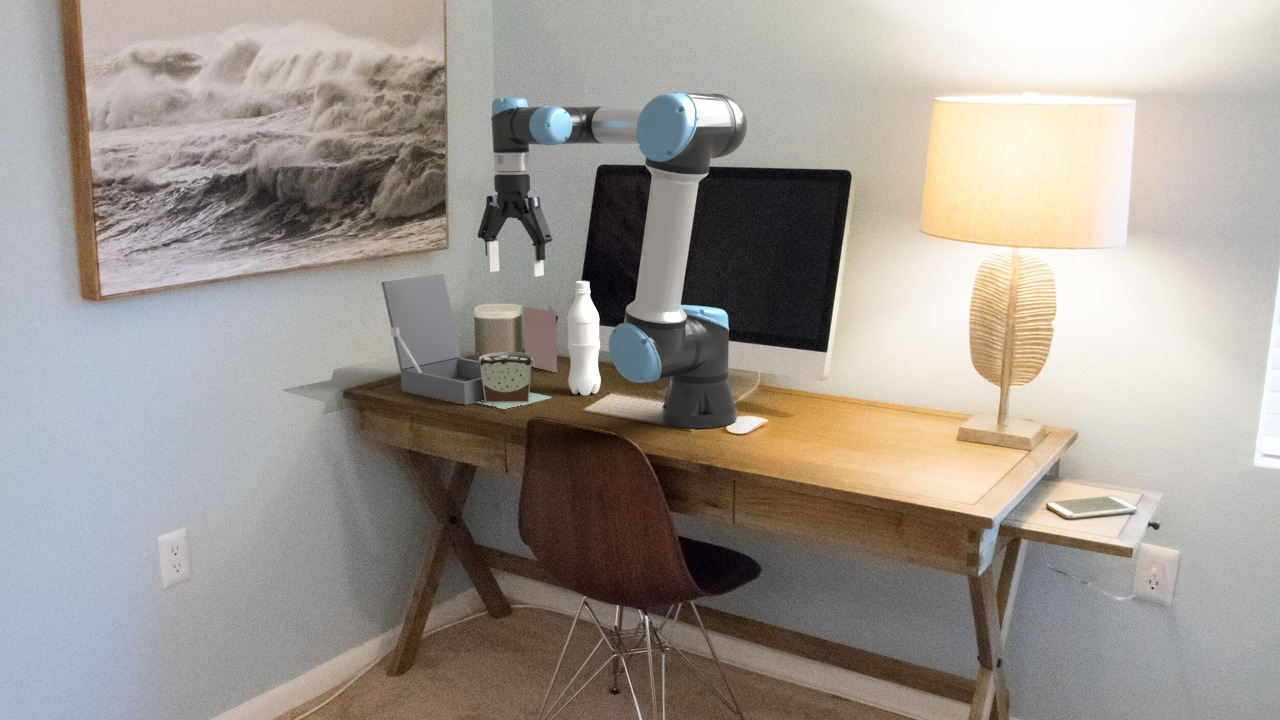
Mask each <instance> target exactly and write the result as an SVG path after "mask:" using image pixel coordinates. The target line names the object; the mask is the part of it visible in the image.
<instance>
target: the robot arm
mask: <svg viewBox="0 0 1280 720" xmlns="http://www.w3.org/2000/svg"><path fill="white" fill-rule="evenodd" d="M491 102H492V103H491V117H490V120H491V131H492V133H491V135H492V155H493V171H494V173H496V174H495V175H494V176H493V180H494V181H493V182H494V183H493V185H494V192H496V193H497V194H494V195H487V196H486V199H485V201H486V202H485V203H486V205H485V209H484V211H483V215H482V217H481V218H482V219H481V222H480V225H479V228H478V232H477V237H478V239H482V240H483V241H484V244H485V249H484V250H485V256H487V257H486V258H487V259H486V261H487V272H488V273H494V272H500V256H499V255H500V252H499V251H500V250H499V240H498V238H497V237H498V235H499V233H500V232H501V230H502V228H503V226H504V224H505V223H506V221H507V219H510V218H511V219H517V220H518V221H519V222H521V224H522V226H523V228H524V229H525V231H526V232H527V235H528V236H529V238H530V240H532V244H531V246H530V248H531V274H532V275H531V276H532V277H541V276H544V275H545V272H544V271H545V269H544V268H545V265H544V261H545V260H546V247H545V246H546V245H547V244H548V243H551V242H552V241H553V236H552V234H551V231H550V228H549V226H548V222H547V221H546V217H545V215H544V212H543V210H542V206H541V199H540V196H530V197H529V195H528V193H529V192H530V191H531V176H530V174H528V172H529V171H530V170H531V168H530V148H529V147H530V146H529V145H539V146H540V145H541V146H542V145H544V146H556V145H569V144H570V145H573V144H578V145H579V144H592V145H593V144H597V145H598V144H601V145H603V144H606V145H607V144H611V145H613V144H614V145H615V144H617V145H639V146H638V148H639V150H640V152H641V154H643V156H644V157H645V162H644V163H645V164H644V165H645V167H646V169H647V170H648V171H649V173H650V174H651V179H650V181H651V182H650V189H649V196H648V197H649V198H648V203H647V209H646V216H645V217H646V218H645V225H644V234H643V240H642V246H641V247H642V248H641V255H640V262H639V263H640V264H639V269H638V279H637V284H636V285H637V286H636V291H635V299H634V300H633V301H632V302H630V303H629V304H628V305H626V308H625V314H624V321H623V323H619V324H618V325H617V326H615V328H614V329H612V330H611V333H610V334H609V335H610V336H609V338H608V350H609V355H610V359H611V361H612V364H614V366H615V369H616V370H617V372H618V373H619V374H620V375H621V376H622V377H623V378H625V379H626V380H628V381H629V382H632V383H637V384H638V383H639V384H640V383H646V382H647V383H653V382H656V381H657V380H660V379H665V378H670V379H669V380H670V381H669V385H668V388H667V392H666V395H665V398H664V401H663V405H662V407H661V420H662V421H663V422H664V423H665V424H668V425H671V426H675V427H680V428H689V429H709V428H710V429H712V428H719V427H725V426H729V425H731V424H734V423H735V422H736V421H737V418H738V417H737V414H738V413H737V412H738V409H737V406H736V404H735V400H734V397H733V394H732V391H731V386H730V384H729V345H730V344H729V341H730V327H729V316H728V313H727V312H726V311H725V310H724V309H722V308H718V307H713V306H711V307H710V306H701V305H691V304H690V305H689V304H682V299H683V297H682V296H683V291H684V285H685V284H684V283H685V276H686V269H687V263H688V257H689V250H690V243H691V238H692V237H691V236H692V230H693V223H694V216H695V211H696V204H697V196H698V189H699V183H700V181H702V180H703V179H704V178H706V177H707V176H708V175H709V172H710V165H711V160H712V159H718V158H723V157H726V156H728V155H730V154H732V153H734V152H736V150H737V149H739V147H740V146H741V145H742V143H744V140H745V137H746V135H747V131H748V130H747V129H748V122H747V116H746V113H745V111H744V109H743V107H742V106H741V105H740V103H739V102H737V101H736V100H735V99H734V98H732V97H730V96H728V95H726V94H721V93H698V92H697V93H696V92H695V93H693V92H678V91H675V92H670V93H663V94H659V95H657V96H655V97H653V98H652V99H651V100H650V101H649V102H647V103H646V104H645V105H642V106H641V105H639V106H638V105H635V106H627V105H626V106H573V107H572V106H554V105H543V106H534V107H529V105H528V101H527V99H526V98H524V97H506V98H505V97H500V98H499V97H498V98H495V99H493V100H492V101H491ZM735 420H736V421H735ZM734 421H735V422H734Z"/></svg>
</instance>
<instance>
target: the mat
mask: <svg viewBox="0 0 1280 720" xmlns="http://www.w3.org/2000/svg"><path fill="white" fill-rule="evenodd" d="M548 399H552V396H550V395H545V394H541V393H537V392H536V393H535V392H531V391H529V402H527V403H493V404H494V405H493V404H492V403H485V400H484V401H480V402H475V403H474V404H476V403H480V404H481V403H483V404H484V405H488V406H492V405H493V407H494V406H496V407H497V408H501V409H507V408H511V407H515V408H517V407H516V406H519V407H521V406H520V405H522V406H525V405H530V404H533V403H537V402H541V401H542V402H543V401H546V400H548ZM511 409H512V408H511ZM507 410H508V409H507Z"/></svg>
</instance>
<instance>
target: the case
mask: <svg viewBox="0 0 1280 720" xmlns="http://www.w3.org/2000/svg"><path fill="white" fill-rule="evenodd" d="M380 283H381V287H382V293H383V296H384V300H385V305H386V310H387V315H388V319H389V323H390V336H391V337H392V338H393V341H394V342H393V343H394V347H395V352H396V357H397V361H398V365H399V369H400V385H401V386H400V387H401V392H404V393H409V394H413V395H418V396H422V397H426V398H430V397H431V398H430V399H434V398H436V399H435V400H438V399H442V400H441V401H443V400H448V401H453V402H458V403H462V404H469V403H473V402H477V401H481V400H485V398H484V391H483V384H482V377H481V370H480V365H479V366H478V367H477V363H478V360H475V359H468V358H466V357H465V358H463V357H462V355H461V349H460V344H459V341H458V340H459V339H458V336H457V331H456V328H455V327H456V326H455V322H454V321H455V320H454V318H453V312H452V308H451V303H450V299H449V294H448V288H447V283H446V280H445V276H444V273H441V274H440V273H439V274H432V275H424V276H423V275H422V276H417V277H416V276H415V277H409V278H402V279H400V278H399V279H394V280H393V279H392V280H386V281H382V282H380Z"/></svg>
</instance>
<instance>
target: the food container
mask: <svg viewBox="0 0 1280 720" xmlns="http://www.w3.org/2000/svg"><path fill="white" fill-rule="evenodd" d="M477 361H478V363H477V367H478V366H479V365H480V370H481V377H482V384H483V391H484V398H485V403H527V402H529V392H531V391H530V390H531V389H530V387H531V375H532V373H531V372H532V368H531V364H533V366H535V365H534V361H533V358H532V356H531V355H530V354H527V353H525V352H519V351H500V352H499V351H498V352H491V353H486V354H482V355H480V356H479V357H478V359H477Z"/></svg>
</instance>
